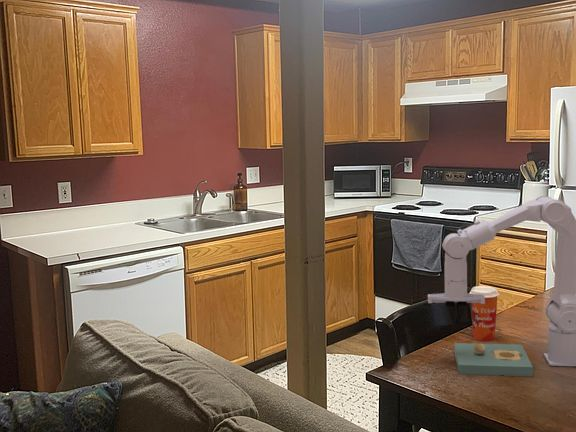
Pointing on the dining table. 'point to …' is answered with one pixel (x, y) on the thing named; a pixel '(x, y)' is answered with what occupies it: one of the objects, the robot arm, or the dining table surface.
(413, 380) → the dining table surface
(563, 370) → the dining table surface
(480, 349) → the maple ball
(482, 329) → the coffee cup
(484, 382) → the dining table surface
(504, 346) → the hole board
